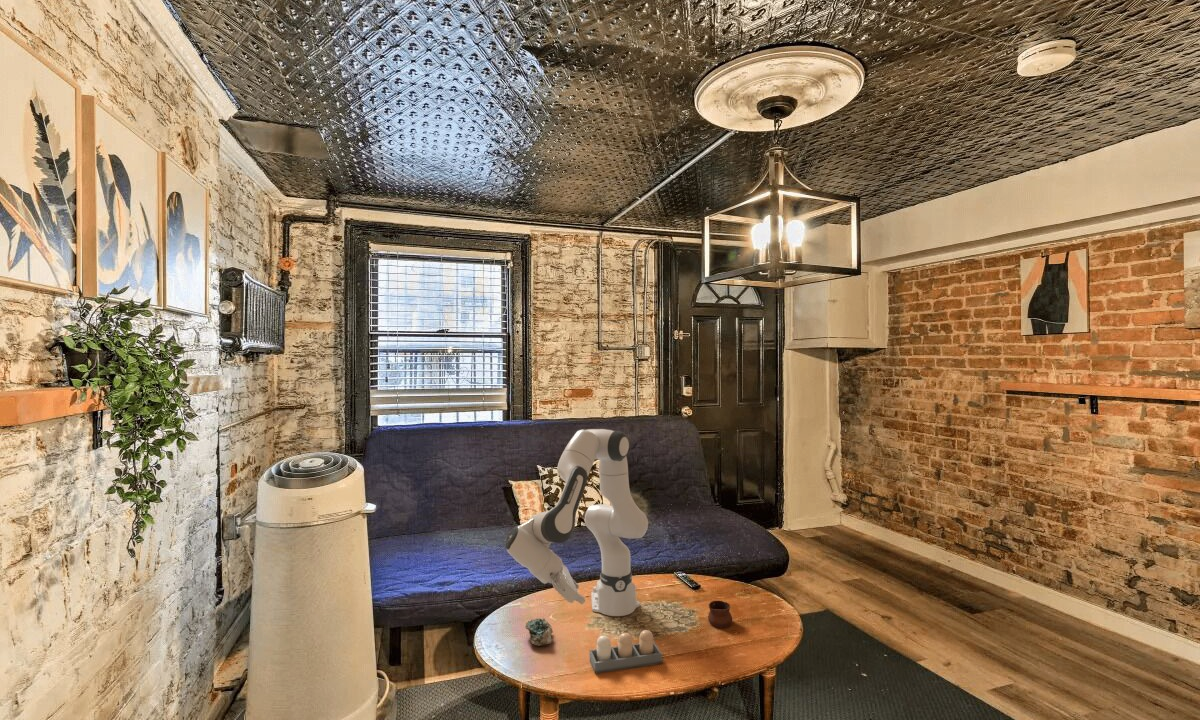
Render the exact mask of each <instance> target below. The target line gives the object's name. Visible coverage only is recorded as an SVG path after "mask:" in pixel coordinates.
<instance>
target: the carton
mask: <svg viewBox="0 0 1200 720" xmlns="http://www.w3.org/2000/svg"><path fill="white" fill-rule="evenodd" d="M638 640H639V641H638V643H633V637H632V635H630V633H628V632H623V633H621V634H619V637H618V645H617V646H611V660H606V661H600V662H597V648H596V649H590V650H589V662H590V665H591V668H592V669H593V673H594V674H595V675H597V674H602V673H608V672H609V673H610V672H615V671H623V670H630V669H634V668H641V667H649V666H654V665H662V664H663V656H662V655H663V653H662V651H660V648H659V647H658V645H657V644H656V642H655V641H654V635H653V633H652V632H651V630H649V629H644V630H642V631H641V632H640V634H639V639H638Z"/></svg>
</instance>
